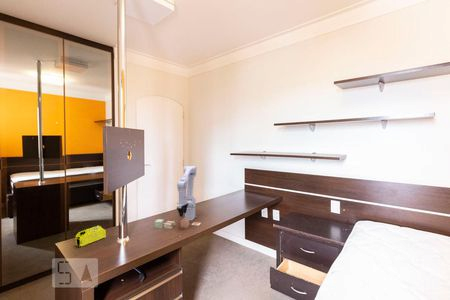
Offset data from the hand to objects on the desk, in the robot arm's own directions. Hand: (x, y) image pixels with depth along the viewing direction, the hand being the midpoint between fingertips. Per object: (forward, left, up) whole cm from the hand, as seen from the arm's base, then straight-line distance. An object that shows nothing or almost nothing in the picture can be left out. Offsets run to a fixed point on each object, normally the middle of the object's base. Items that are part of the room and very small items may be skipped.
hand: (183, 214), depth 164 cm
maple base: (+2, -10, -10) cm, 14 cm away
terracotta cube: (-2, +1, -10) cm, 10 cm away
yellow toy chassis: (+37, -47, -10) cm, 61 cm away
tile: (-8, +7, -9) cm, 14 cm away
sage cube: (+4, -18, -10) cm, 21 cm away
